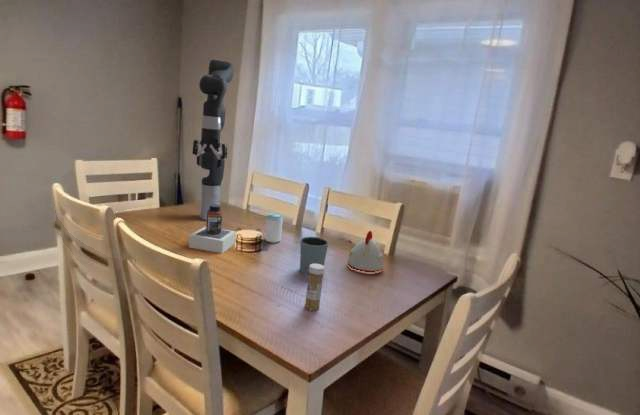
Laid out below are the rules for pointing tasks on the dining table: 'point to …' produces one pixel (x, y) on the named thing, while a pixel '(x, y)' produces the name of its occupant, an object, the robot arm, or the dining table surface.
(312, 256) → the gray plant pot
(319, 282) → the sprinkles bottle
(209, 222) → the supplement bottle
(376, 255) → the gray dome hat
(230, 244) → the white and gray stand
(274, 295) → the dining table surface
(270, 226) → the can
